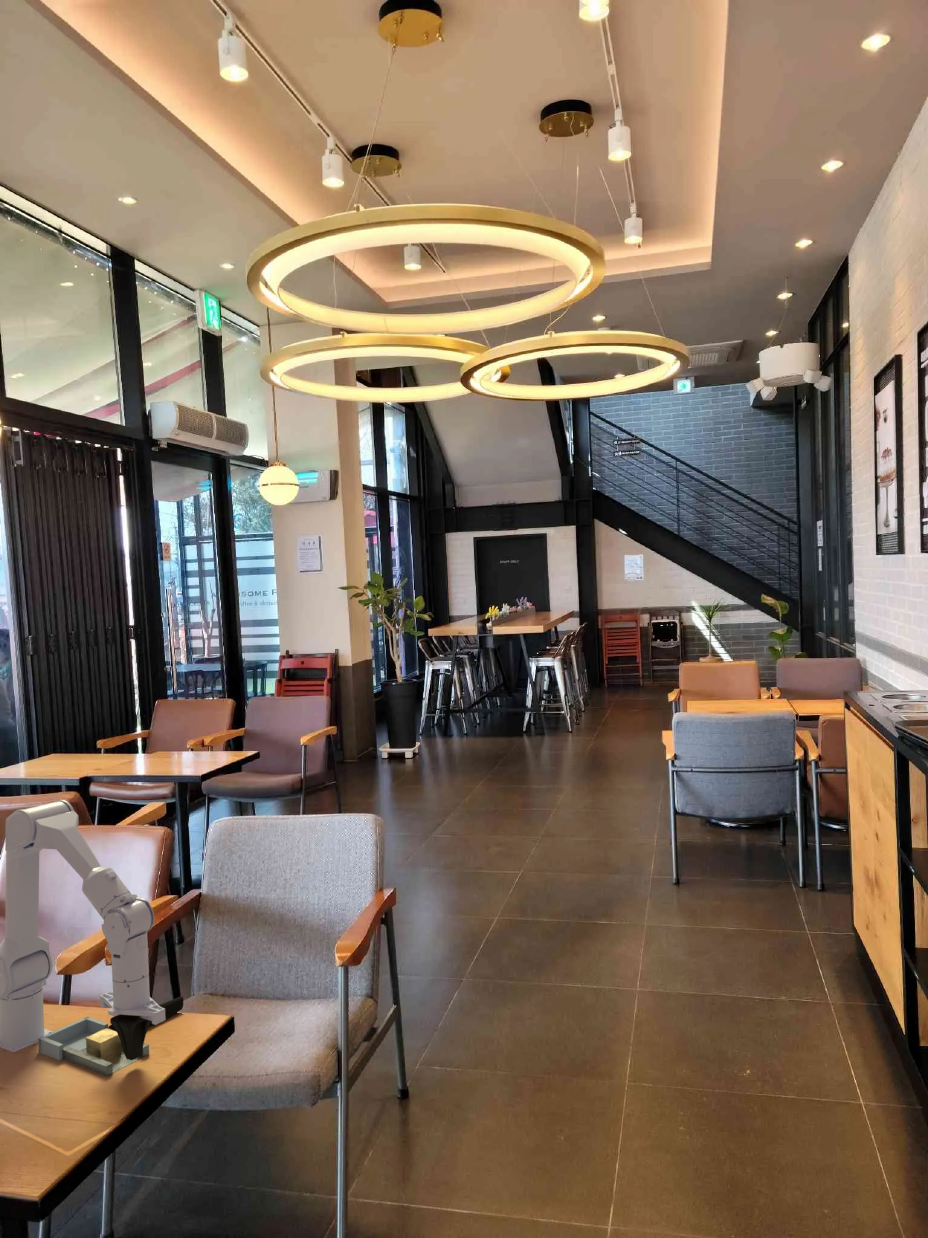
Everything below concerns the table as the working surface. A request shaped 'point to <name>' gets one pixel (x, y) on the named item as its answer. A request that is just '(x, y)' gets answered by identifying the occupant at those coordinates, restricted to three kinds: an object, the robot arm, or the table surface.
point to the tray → (69, 1037)
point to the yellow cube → (104, 1044)
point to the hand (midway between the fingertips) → (133, 1057)
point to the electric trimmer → (167, 1008)
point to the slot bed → (100, 1060)
